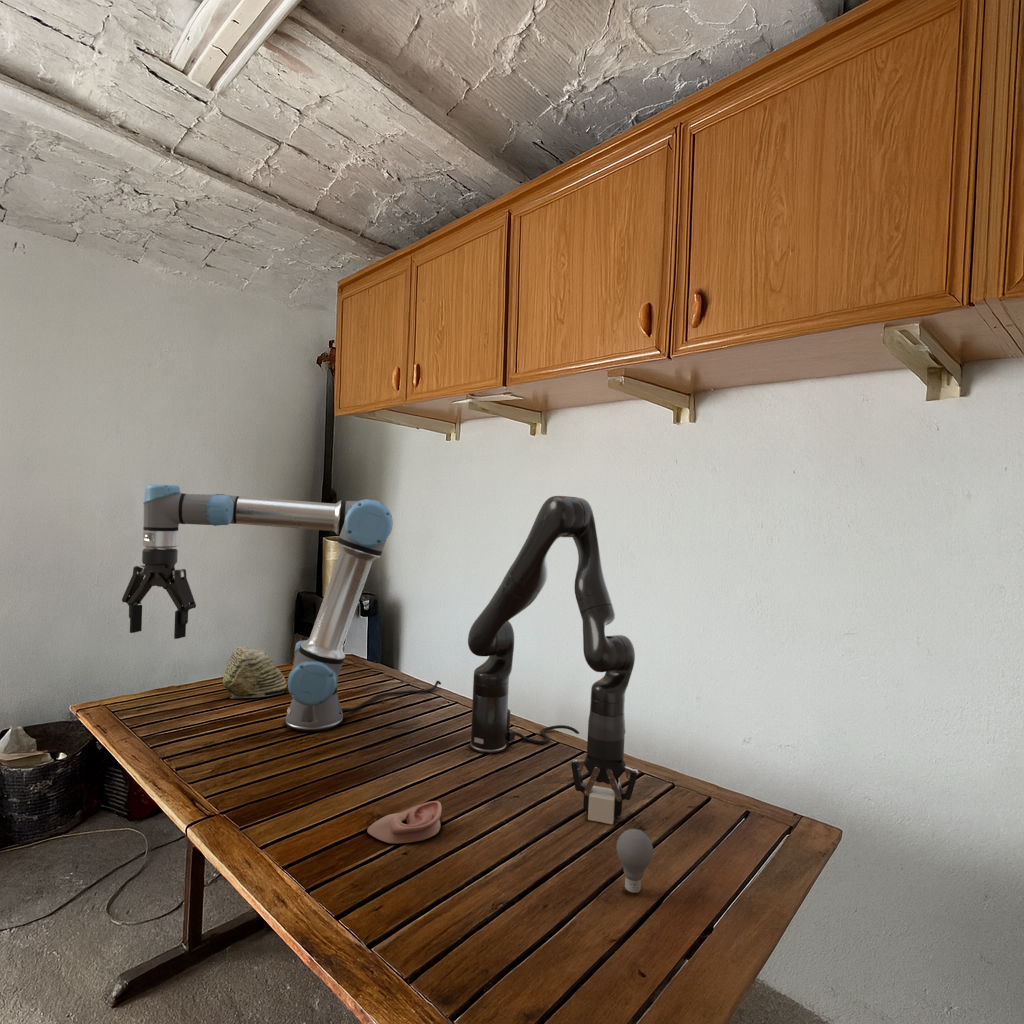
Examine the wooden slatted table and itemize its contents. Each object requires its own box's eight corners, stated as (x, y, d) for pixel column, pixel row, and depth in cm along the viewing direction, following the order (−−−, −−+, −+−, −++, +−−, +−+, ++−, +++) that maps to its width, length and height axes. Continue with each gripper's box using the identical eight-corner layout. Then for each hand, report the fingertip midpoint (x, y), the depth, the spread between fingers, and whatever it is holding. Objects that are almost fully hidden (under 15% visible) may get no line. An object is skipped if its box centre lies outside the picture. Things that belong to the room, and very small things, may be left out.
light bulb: (610, 879, 108) (613, 822, 108) (644, 879, 109) (647, 822, 109) (619, 902, 102) (622, 840, 102) (655, 901, 103) (658, 840, 103)
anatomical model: (360, 817, 118) (385, 790, 129) (359, 839, 118) (384, 809, 129) (428, 828, 115) (447, 799, 126) (427, 850, 115) (446, 819, 126)
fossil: (218, 695, 195) (220, 647, 195) (278, 685, 208) (279, 640, 207) (228, 703, 189) (230, 653, 188) (289, 692, 201) (290, 645, 201)
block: (587, 819, 129) (588, 795, 129) (592, 808, 134) (593, 785, 134) (612, 824, 127) (613, 800, 127) (616, 813, 132) (617, 789, 132)
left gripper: (106, 545, 154) (104, 632, 154) (189, 552, 147) (186, 643, 147) (133, 543, 161) (130, 626, 161) (213, 550, 154) (210, 637, 154)
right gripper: (568, 733, 129) (564, 816, 129) (639, 744, 125) (635, 829, 125) (575, 721, 136) (571, 800, 136) (643, 731, 132) (639, 812, 132)
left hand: (157, 634), depth 154 cm, fingers open, 13 cm apart
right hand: (602, 813), depth 131 cm, fingers closed on block, 5 cm apart
